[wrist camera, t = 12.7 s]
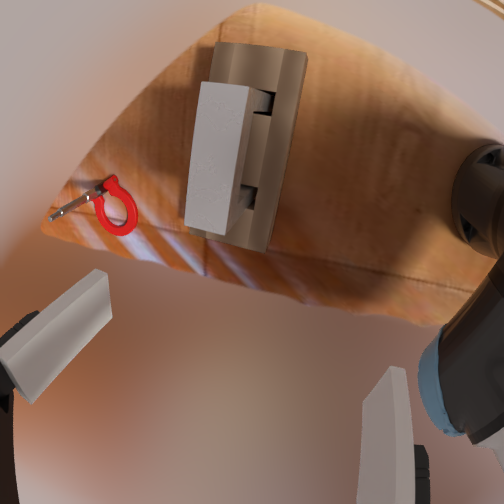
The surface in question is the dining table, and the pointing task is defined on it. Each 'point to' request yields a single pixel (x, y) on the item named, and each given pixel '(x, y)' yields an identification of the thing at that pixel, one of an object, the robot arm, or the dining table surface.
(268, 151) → the slotted wooden block
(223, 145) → the clip
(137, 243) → the dining table surface
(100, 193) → the tow hook
